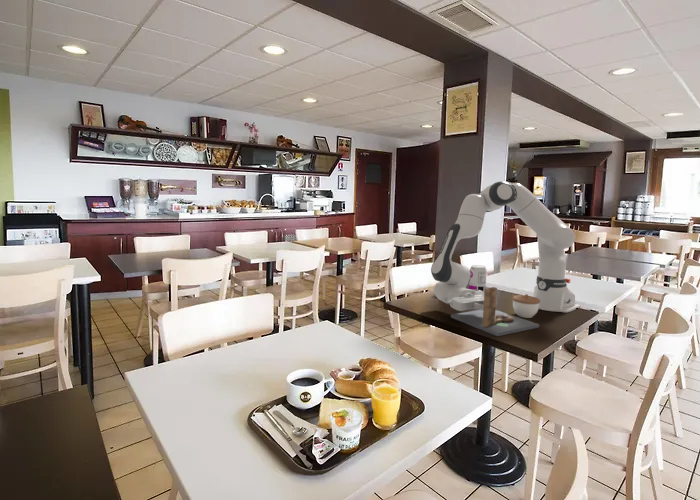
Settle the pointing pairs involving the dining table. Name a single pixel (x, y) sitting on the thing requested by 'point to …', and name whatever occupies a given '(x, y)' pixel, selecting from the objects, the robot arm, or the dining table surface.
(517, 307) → the lidded jar
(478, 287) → the supplement can
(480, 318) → the board
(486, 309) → the tuning key
